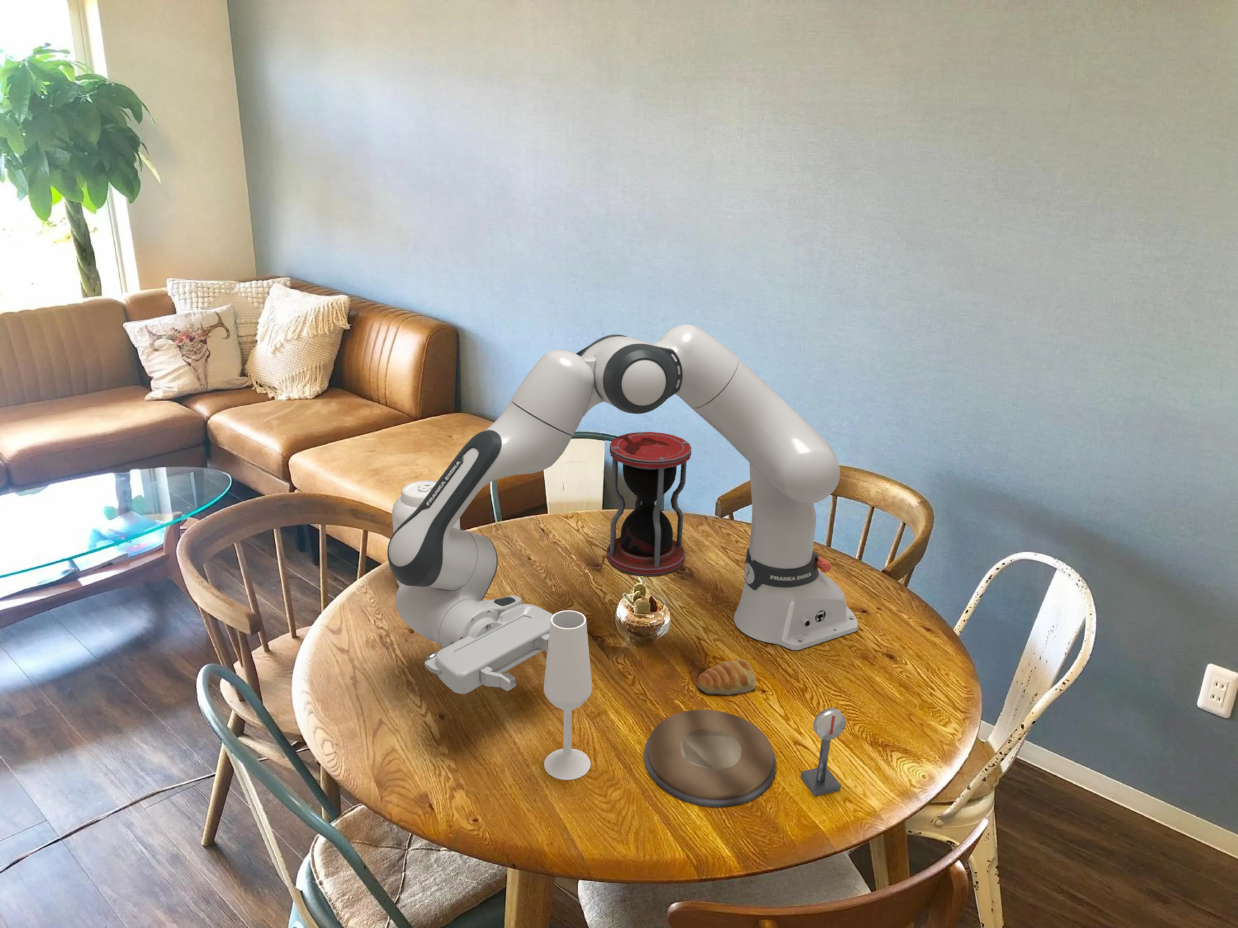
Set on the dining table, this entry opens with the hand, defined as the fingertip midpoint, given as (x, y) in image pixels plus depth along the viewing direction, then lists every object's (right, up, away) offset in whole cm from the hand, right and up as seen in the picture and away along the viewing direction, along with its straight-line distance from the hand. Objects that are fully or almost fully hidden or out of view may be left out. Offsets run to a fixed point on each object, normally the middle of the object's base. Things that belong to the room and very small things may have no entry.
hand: (537, 670), depth 131 cm
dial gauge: (+40, -16, -2) cm, 43 cm away
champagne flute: (+4, -14, +1) cm, 14 cm away
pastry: (+30, -7, +20) cm, 36 cm away
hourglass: (+17, +10, +60) cm, 63 cm away
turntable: (+25, -14, +2) cm, 28 cm away
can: (-25, +6, +48) cm, 55 cm away
